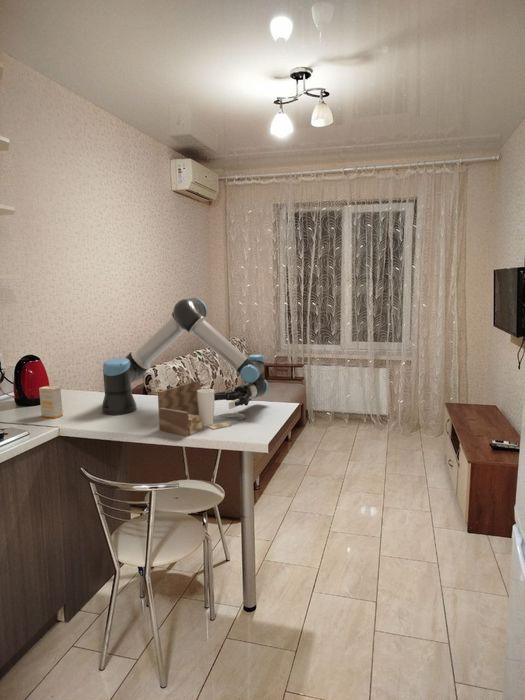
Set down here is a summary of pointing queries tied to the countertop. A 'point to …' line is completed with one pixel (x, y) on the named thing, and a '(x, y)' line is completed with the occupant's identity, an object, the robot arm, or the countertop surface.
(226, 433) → the countertop surface
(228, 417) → the coaster
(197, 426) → the offcut lower
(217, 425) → the offcut flat
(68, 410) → the countertop surface
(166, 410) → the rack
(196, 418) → the offcut upper
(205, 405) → the drinking glass
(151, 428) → the countertop surface
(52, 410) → the supplement box
